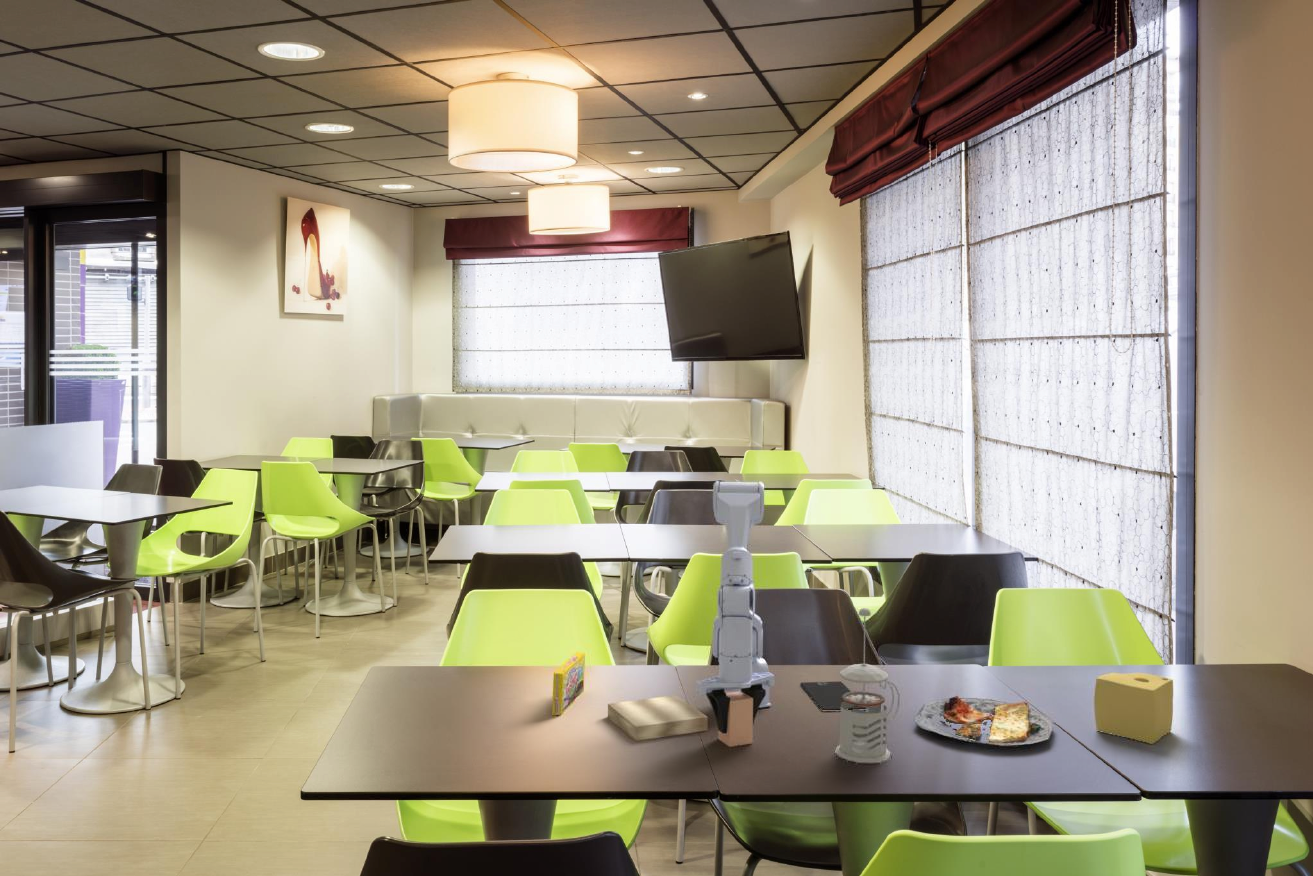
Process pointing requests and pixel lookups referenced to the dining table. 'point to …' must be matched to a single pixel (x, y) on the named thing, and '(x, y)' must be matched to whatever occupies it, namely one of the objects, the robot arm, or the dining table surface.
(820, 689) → the cell phone
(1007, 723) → the food plate
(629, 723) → the birch block
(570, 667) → the candy box
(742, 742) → the terracotta block
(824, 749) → the dining table surface
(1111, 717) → the cheese
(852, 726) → the french press
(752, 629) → the robot arm
